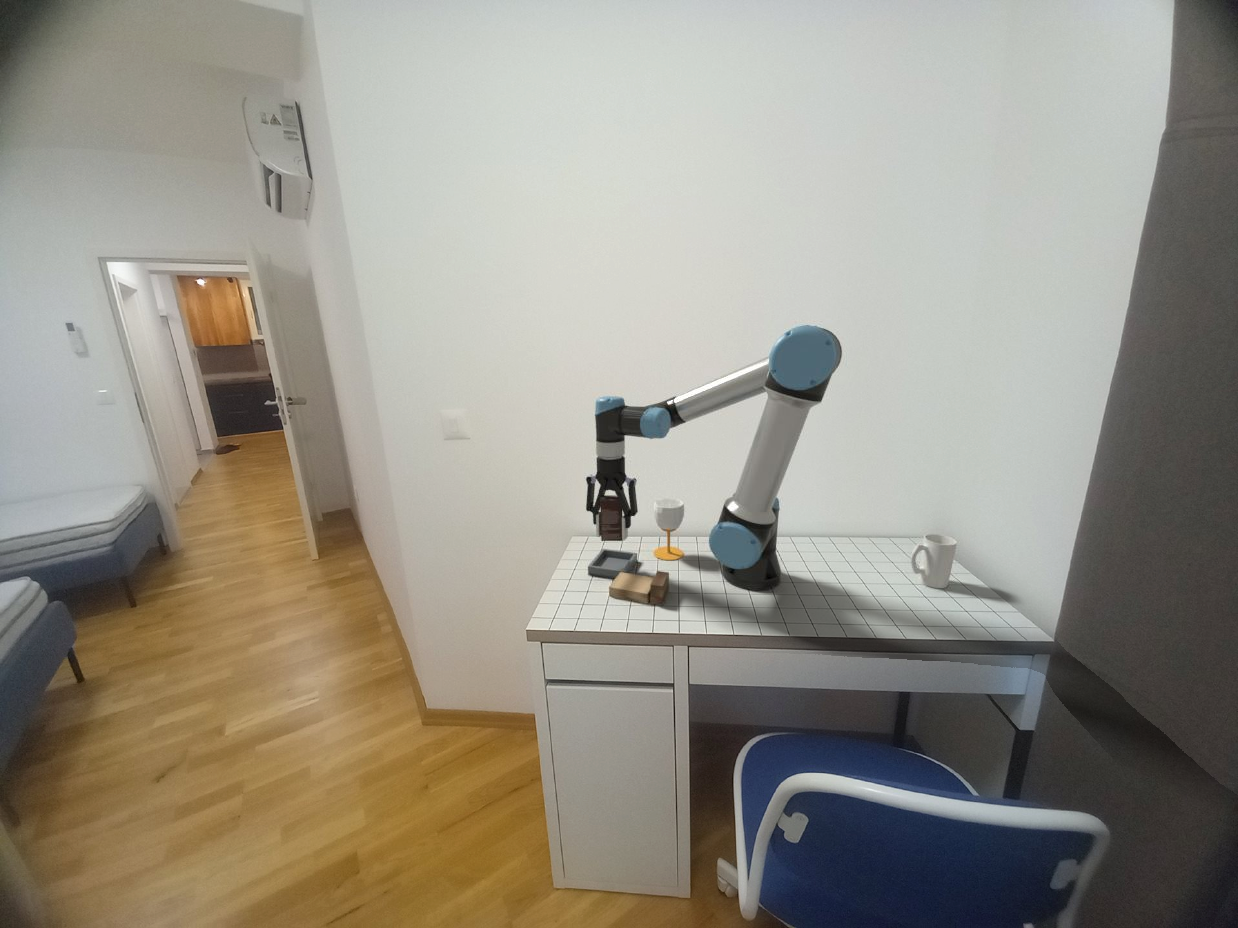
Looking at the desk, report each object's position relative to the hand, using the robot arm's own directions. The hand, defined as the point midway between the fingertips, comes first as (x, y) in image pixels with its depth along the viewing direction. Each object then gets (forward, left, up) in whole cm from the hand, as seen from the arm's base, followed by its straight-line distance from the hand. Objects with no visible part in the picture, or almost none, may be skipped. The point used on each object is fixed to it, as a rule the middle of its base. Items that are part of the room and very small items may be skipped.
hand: (612, 536), depth 123 cm
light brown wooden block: (-9, +11, -10) cm, 17 cm away
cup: (-13, -13, -10) cm, 21 cm away
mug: (-80, -15, -10) cm, 82 cm away
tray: (0, 0, -9) cm, 9 cm away
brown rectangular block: (-16, +11, -9) cm, 22 cm away
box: (0, 0, -1) cm, 1 cm away
